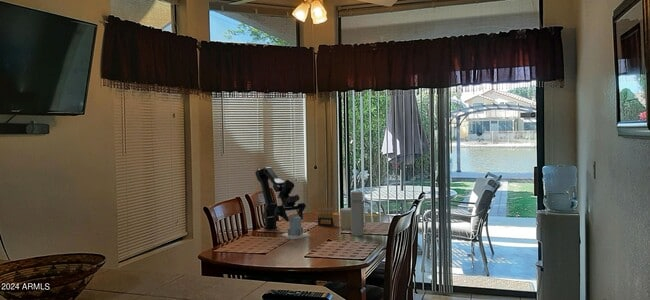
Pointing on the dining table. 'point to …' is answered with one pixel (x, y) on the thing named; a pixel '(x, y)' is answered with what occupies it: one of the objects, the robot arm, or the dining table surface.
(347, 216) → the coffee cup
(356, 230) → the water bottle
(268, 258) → the dining table surface
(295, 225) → the block
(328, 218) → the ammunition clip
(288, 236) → the base plate
